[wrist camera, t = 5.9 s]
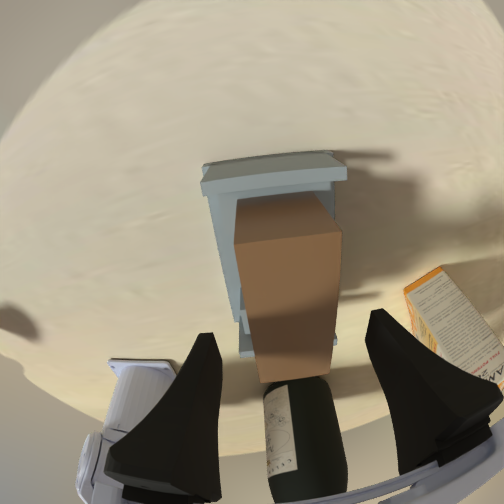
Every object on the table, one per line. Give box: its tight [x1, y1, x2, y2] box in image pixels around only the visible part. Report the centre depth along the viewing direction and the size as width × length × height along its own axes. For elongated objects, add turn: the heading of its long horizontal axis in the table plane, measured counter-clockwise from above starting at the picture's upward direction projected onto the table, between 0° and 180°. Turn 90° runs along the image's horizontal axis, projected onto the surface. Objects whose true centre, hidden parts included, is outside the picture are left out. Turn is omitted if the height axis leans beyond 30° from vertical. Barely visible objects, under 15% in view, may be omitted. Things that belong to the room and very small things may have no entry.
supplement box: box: [404, 267, 504, 392], centre depth 18 cm, size 8×5×13 cm, turn 32°
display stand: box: [200, 150, 347, 358], centre depth 17 cm, size 13×8×5 cm, turn 7°
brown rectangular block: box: [233, 191, 342, 383], centre depth 14 cm, size 9×4×5 cm, turn 7°
